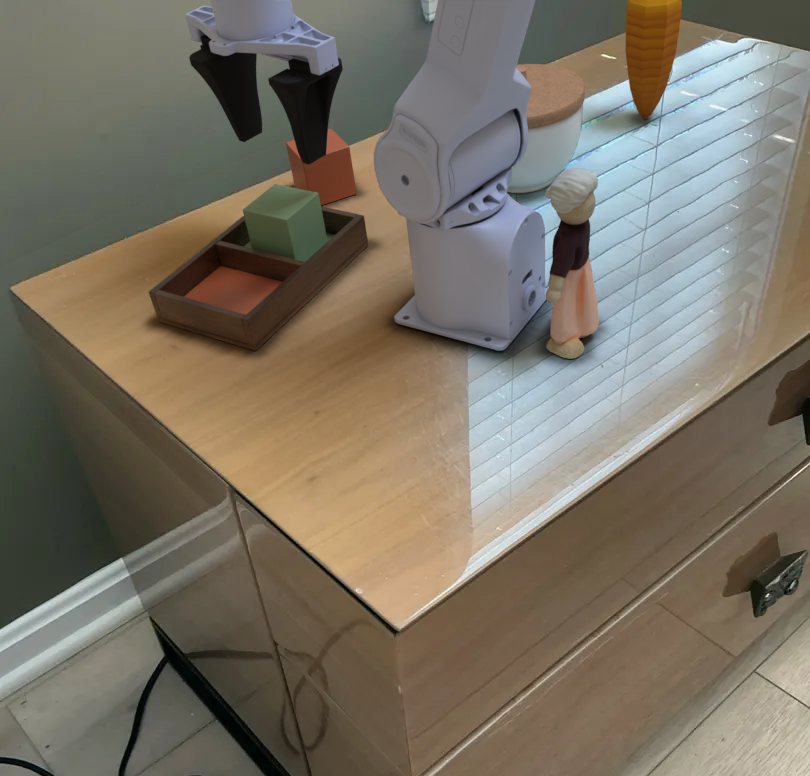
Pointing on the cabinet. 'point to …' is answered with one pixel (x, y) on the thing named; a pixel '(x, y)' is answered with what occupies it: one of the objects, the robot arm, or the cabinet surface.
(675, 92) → the cabinet surface
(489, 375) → the cabinet surface
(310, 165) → the terracotta block
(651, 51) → the carrot
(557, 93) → the trinket box
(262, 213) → the sage block
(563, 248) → the grandmother figurine
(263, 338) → the sorting tray
